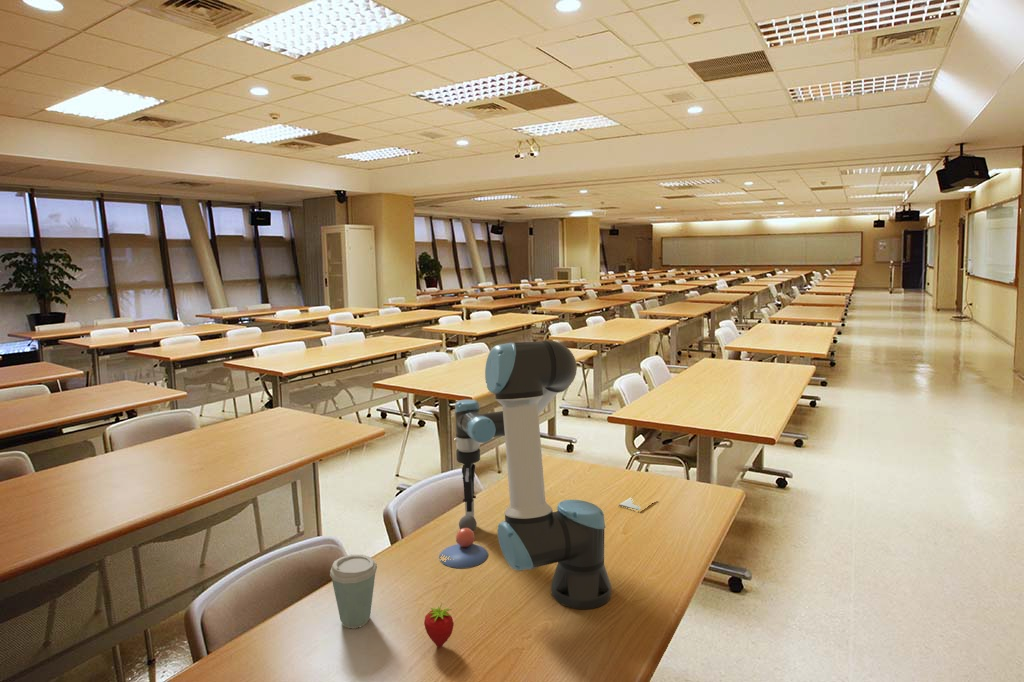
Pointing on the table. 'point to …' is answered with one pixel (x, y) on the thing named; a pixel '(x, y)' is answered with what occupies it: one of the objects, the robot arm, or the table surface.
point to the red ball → (465, 537)
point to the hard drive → (630, 504)
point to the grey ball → (468, 522)
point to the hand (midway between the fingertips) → (470, 519)
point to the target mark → (464, 556)
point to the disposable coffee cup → (354, 588)
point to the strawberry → (439, 625)
